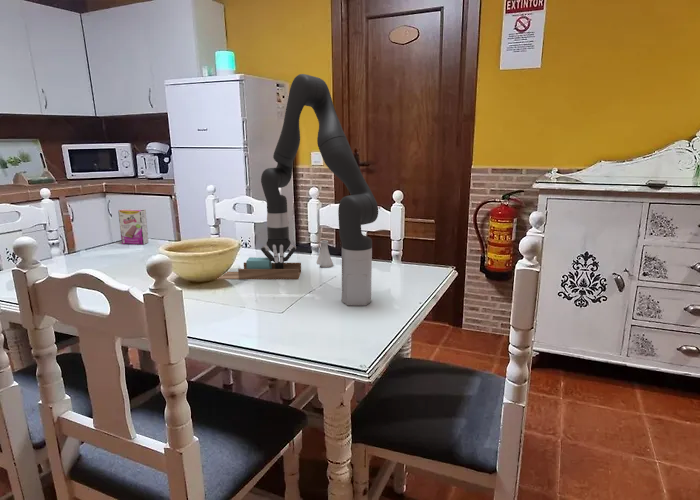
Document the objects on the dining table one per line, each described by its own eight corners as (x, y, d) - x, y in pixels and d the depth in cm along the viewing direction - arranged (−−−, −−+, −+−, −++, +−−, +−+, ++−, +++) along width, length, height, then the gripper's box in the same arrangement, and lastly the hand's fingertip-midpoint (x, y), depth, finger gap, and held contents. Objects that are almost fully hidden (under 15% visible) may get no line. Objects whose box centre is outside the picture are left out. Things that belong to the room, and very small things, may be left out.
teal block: (269, 277, 170) (269, 261, 169) (247, 277, 170) (246, 260, 169) (271, 273, 175) (271, 257, 174) (250, 273, 175) (249, 257, 174)
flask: (334, 263, 194) (334, 239, 192) (332, 268, 187) (332, 243, 184) (317, 263, 195) (316, 239, 192) (313, 267, 188) (313, 242, 185)
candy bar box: (121, 244, 226) (117, 210, 222) (126, 242, 231) (123, 208, 227) (143, 245, 225) (140, 210, 221) (149, 242, 230) (145, 208, 226)
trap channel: (298, 282, 168) (298, 269, 167) (210, 282, 168) (209, 269, 167) (301, 274, 178) (301, 262, 177) (217, 274, 178) (216, 262, 177)
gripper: (257, 227, 165) (259, 275, 169) (295, 226, 165) (296, 275, 169) (261, 223, 172) (263, 269, 176) (297, 223, 172) (299, 269, 176)
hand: (279, 272), depth 173 cm, fingers closed
